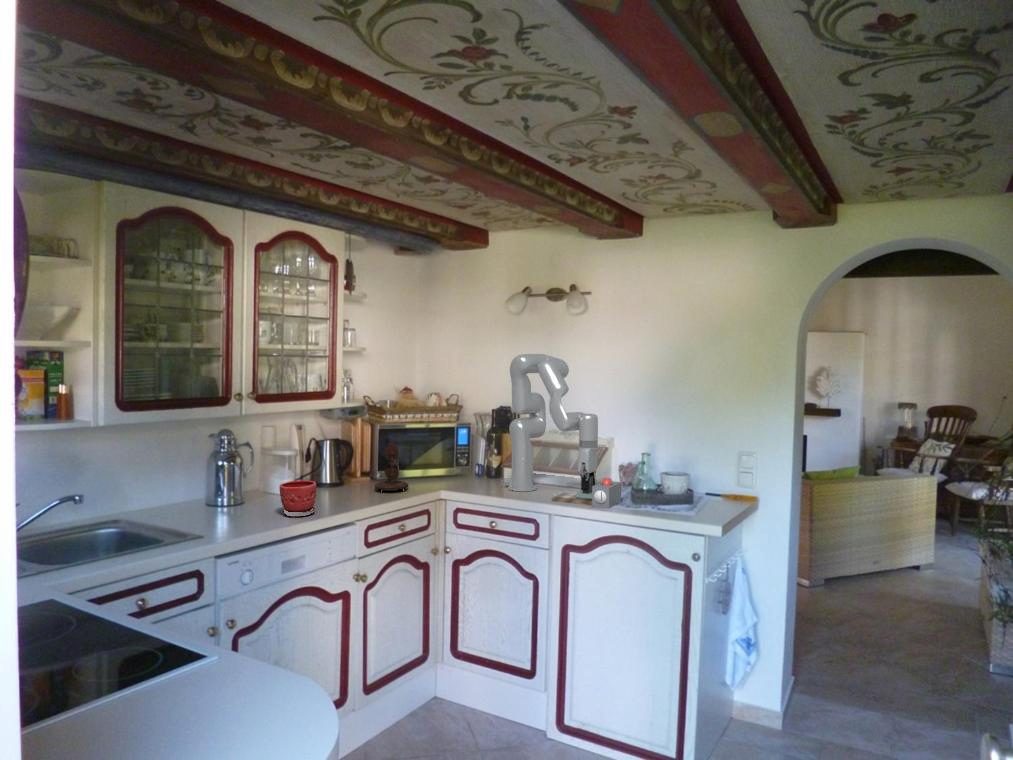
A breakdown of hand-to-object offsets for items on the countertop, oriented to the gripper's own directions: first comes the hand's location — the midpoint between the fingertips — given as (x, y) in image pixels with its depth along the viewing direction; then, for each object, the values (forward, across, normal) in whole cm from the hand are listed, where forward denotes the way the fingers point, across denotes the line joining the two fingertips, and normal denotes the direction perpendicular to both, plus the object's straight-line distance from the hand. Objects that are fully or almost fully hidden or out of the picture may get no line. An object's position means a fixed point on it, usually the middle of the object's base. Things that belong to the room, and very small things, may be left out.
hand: (588, 488), depth 291 cm
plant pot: (+6, +73, -86) cm, 113 cm away
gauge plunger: (0, 0, +8) cm, 8 cm away
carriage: (+3, 0, 0) cm, 3 cm away
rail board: (+6, 0, -5) cm, 7 cm away
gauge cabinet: (+6, 0, +8) cm, 10 cm away
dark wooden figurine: (+6, +18, -85) cm, 87 cm away
